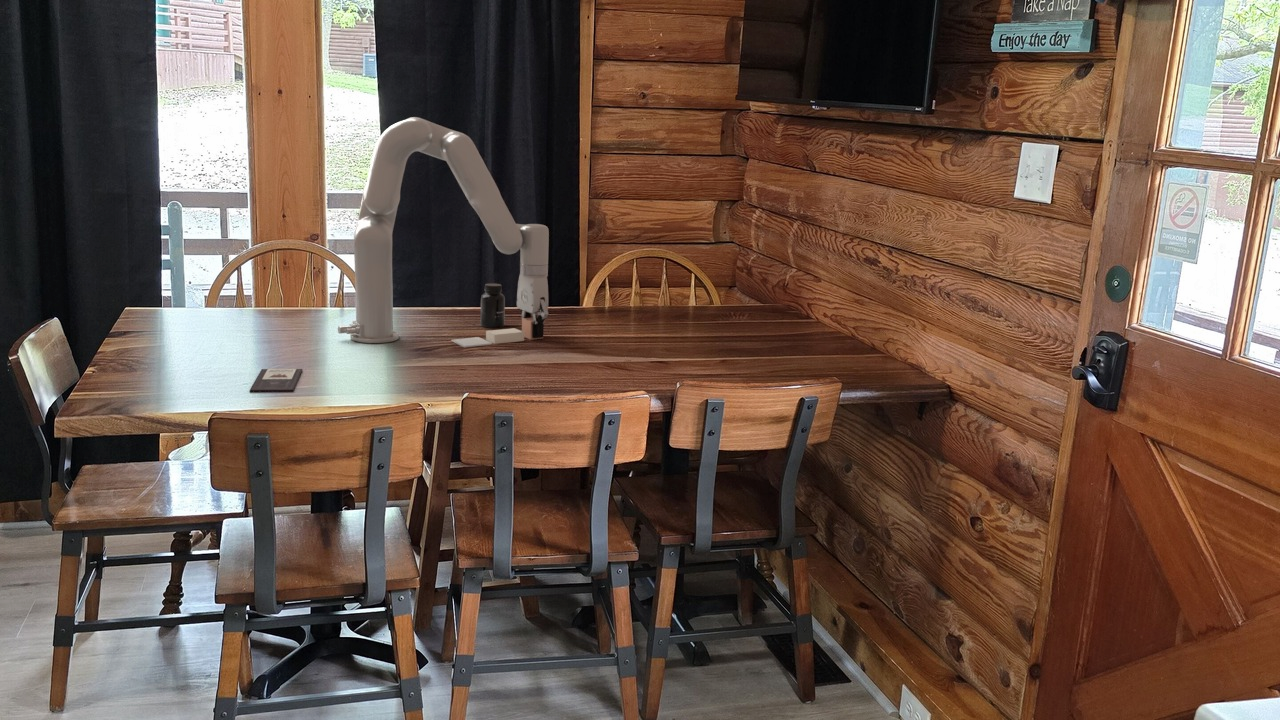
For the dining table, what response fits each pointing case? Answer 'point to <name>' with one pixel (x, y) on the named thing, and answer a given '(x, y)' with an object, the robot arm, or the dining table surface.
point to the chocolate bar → (276, 380)
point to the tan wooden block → (528, 328)
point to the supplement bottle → (492, 306)
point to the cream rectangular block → (505, 335)
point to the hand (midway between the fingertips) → (532, 334)
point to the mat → (471, 342)
